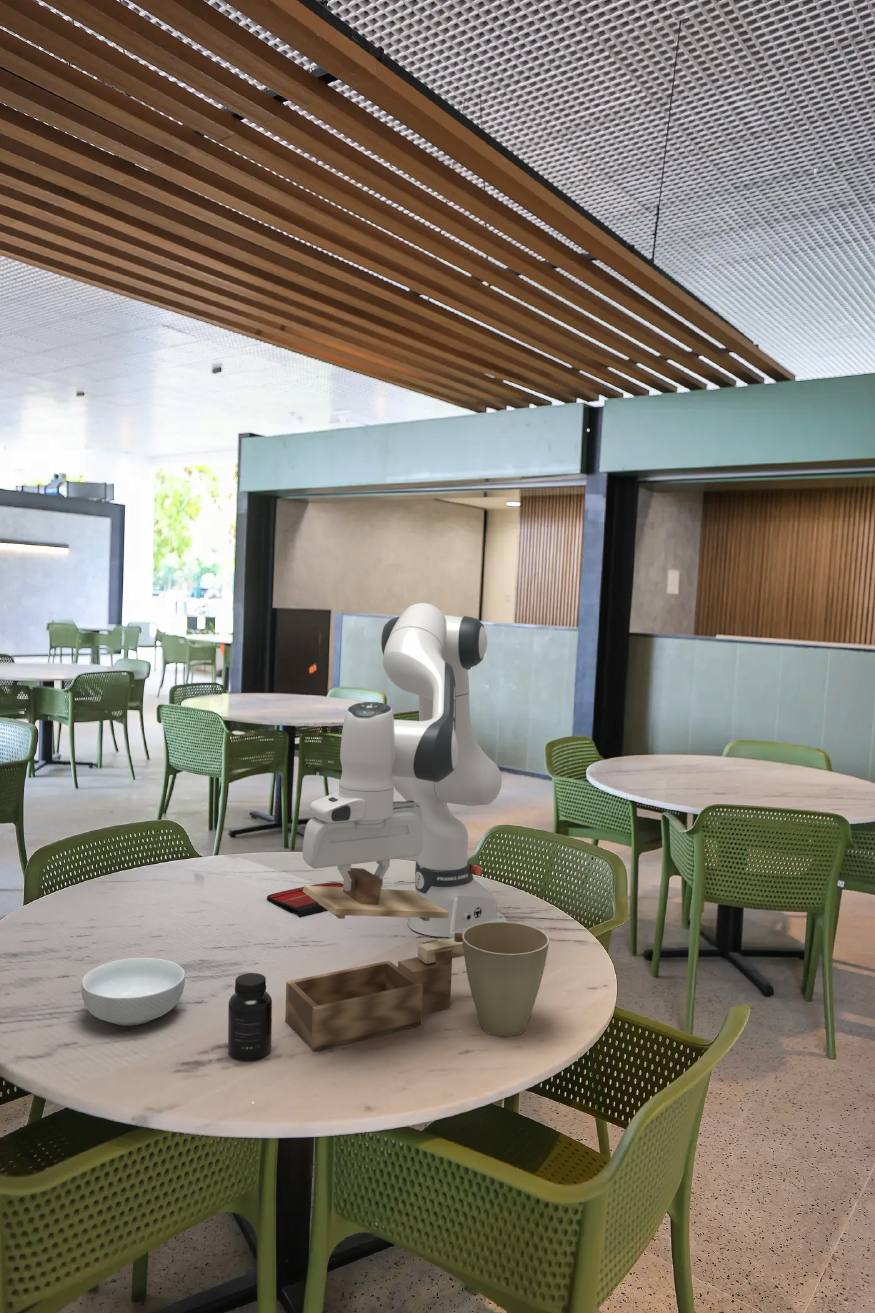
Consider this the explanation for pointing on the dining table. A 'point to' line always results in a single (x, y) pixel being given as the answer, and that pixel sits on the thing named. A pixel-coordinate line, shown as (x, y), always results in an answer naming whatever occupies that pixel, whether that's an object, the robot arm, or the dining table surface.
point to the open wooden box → (367, 1000)
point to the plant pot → (504, 972)
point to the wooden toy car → (441, 948)
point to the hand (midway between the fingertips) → (362, 888)
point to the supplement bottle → (249, 1018)
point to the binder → (299, 900)
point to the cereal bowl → (133, 990)
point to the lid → (373, 899)
